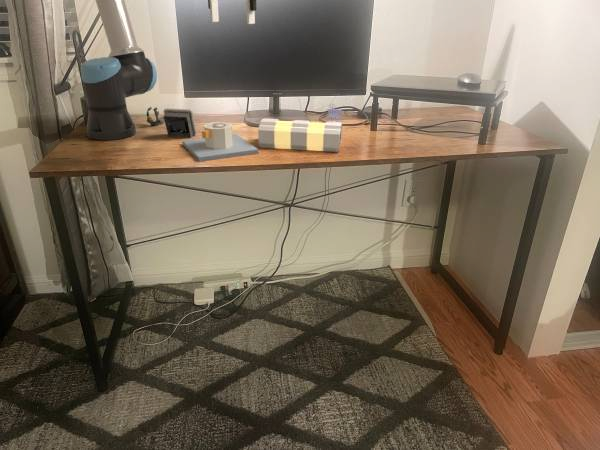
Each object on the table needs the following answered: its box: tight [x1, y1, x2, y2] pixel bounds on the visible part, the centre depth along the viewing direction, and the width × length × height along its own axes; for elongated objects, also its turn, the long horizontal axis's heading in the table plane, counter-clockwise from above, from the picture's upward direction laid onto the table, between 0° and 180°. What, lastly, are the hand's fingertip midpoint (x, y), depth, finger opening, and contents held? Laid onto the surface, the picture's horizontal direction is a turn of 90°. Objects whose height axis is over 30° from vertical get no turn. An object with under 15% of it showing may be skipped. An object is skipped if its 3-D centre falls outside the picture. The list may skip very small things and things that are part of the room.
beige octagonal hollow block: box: [201, 121, 233, 149], centre depth 133 cm, size 8×10×6 cm
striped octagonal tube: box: [257, 103, 343, 153], centre depth 138 cm, size 25×10×13 cm, turn 82°
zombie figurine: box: [146, 107, 165, 127], centre depth 160 cm, size 5×7×15 cm
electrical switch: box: [163, 107, 197, 139], centre depth 145 cm, size 9×5×9 cm, turn 84°
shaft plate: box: [181, 124, 259, 162], centre depth 134 cm, size 18×18×7 cm
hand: (232, 22), depth 130 cm, fingers open, 13 cm apart
